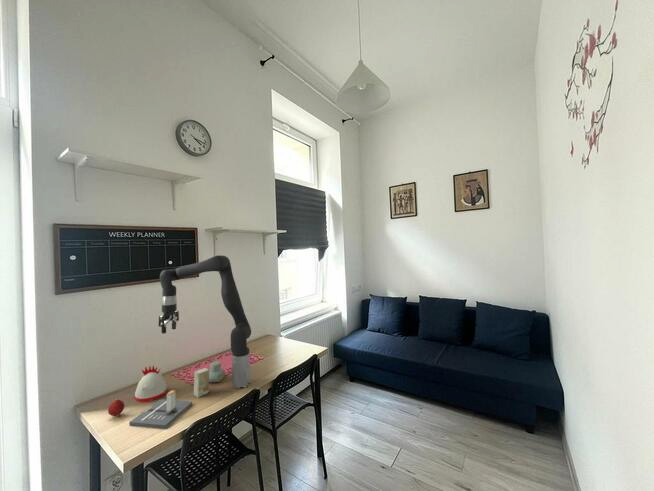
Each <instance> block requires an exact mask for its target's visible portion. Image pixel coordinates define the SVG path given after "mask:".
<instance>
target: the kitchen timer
mask: <svg viewBox="0 0 654 491" xmlns="http://www.w3.org/2000/svg"><path fill="white" fill-rule="evenodd" d="M141 372H142V374H143V376H142V377H141V379H140V380H139V381H138V382H137V385H136V390H135V393H134V400H135V401H136V402H139V403H147V402H151V401H155V400H158V399H159V398H160V399H161V397H163V396H164V395H165V394H167V389H168V388H167V383H166V381H165V378H164V376H163V375H162V374H161V373H160V372H161V368H159V369H158V366H157V367H155V366H154V365H153V366H152V367H151V365H150V366H149V367H148V368H147V366H145V368H144V370H143V369H141Z"/></svg>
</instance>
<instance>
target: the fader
mask: <svg viewBox="0 0 654 491" xmlns="http://www.w3.org/2000/svg"><path fill="white" fill-rule="evenodd" d="M166 400H167V408H166V412H165V414H169V413H171V412H172V411H173V410H174V409H175V408H176V406H175V400H176V390H170V391H169V392H166Z"/></svg>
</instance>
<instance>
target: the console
mask: <svg viewBox="0 0 654 491" xmlns="http://www.w3.org/2000/svg"><path fill="white" fill-rule="evenodd" d="M175 406H176V408H175V409H174V410H173V411H172V412H171V413H169V414H165V412H166V408H167V399H165V398H164V399H163V398H160V399H159V400H158V401H156V402H155V403H154V404H152V405H151V406H149V407H148V408H147V409H145V410H144V411H142V412H141V413H140V414H138V415H137V416H135V417H134V418H133V419H132V420H129V424H128V425H129V426H130V427H140V428H141V427H142V428H152V429H163V430H166V429H167V428H168V427H169V426H170V425H172V424H173V423H174V422H175V421H176V420H177V419H178V418H180V416H181V415H183V414H184V413H185V411H187V410H189V409H190V408H191V407H192V406H193V401H190V400H189V401H187V400H177V399H175Z"/></svg>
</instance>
